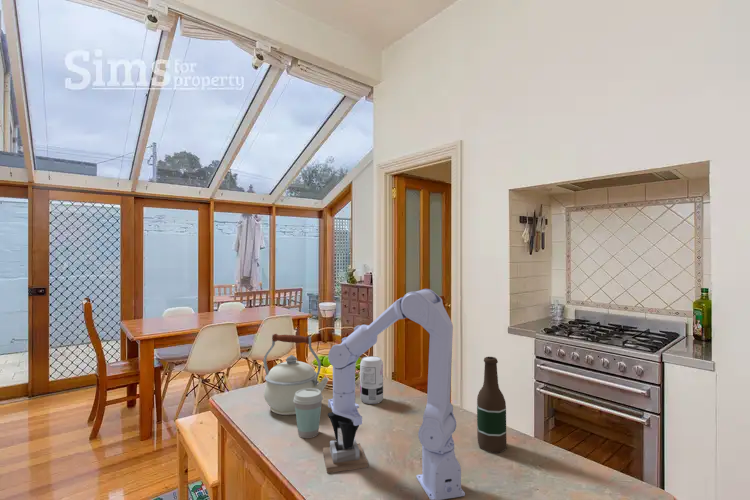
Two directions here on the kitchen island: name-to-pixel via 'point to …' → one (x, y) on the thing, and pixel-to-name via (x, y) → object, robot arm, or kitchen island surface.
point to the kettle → (289, 377)
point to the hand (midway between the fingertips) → (344, 443)
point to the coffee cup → (308, 411)
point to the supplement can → (371, 380)
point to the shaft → (340, 440)
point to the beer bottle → (491, 411)
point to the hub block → (344, 457)
